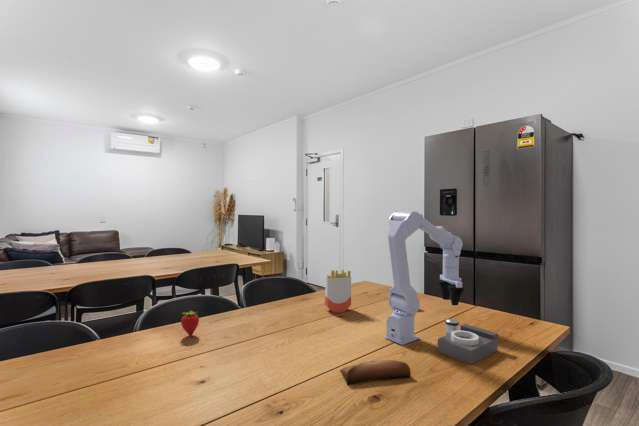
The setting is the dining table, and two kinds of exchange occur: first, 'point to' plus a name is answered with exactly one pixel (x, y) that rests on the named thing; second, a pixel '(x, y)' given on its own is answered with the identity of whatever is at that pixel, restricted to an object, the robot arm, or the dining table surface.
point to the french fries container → (338, 291)
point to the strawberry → (190, 322)
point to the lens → (451, 325)
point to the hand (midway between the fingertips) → (450, 302)
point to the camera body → (469, 343)
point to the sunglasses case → (375, 370)
